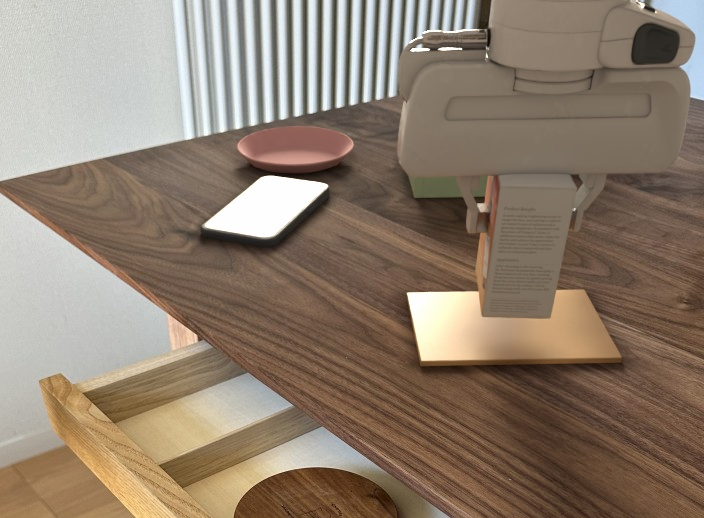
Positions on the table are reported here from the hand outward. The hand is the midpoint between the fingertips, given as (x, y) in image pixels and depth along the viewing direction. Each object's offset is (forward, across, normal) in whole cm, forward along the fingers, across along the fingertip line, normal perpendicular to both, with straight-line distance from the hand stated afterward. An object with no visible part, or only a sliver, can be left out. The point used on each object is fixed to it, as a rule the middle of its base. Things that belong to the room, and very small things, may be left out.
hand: (522, 229), depth 66 cm
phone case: (+9, -21, +26) cm, 35 cm away
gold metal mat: (+9, 0, 0) cm, 9 cm away
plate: (+9, -18, +44) cm, 48 cm away
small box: (+6, 0, 0) cm, 6 cm away
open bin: (+9, +1, +36) cm, 37 cm away
